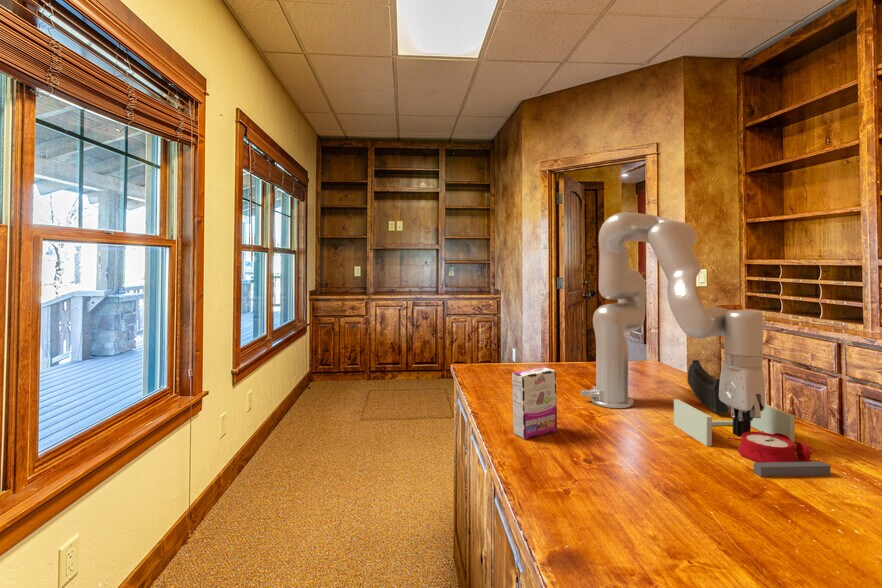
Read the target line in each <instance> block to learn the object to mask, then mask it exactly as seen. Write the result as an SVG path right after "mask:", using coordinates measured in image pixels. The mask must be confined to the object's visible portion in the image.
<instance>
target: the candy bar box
mask: <svg viewBox="0 0 882 588" xmlns="http://www.w3.org/2000/svg"><path fill="white" fill-rule="evenodd" d="M511 385H512V388H511V389H512V390H511V391H512V419H513V421H512V425H513V428H512V429H513V435H515V436H516V437H519V438H521V439H523V440H527V439H529V440H530V439H533V438H537V437H540V436H544V435H547V434H552V433H556V432H557V431H558V420H557V419H558V417H557V416H558V413H557V412H558V410H557V409H558V408H557V370H555V369H552V368H549V367H538V368H532V369H525V370H520V371H515V372H514V371H513V372H511Z"/></svg>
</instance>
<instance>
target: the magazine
mask: <svg viewBox="0 0 882 588" xmlns="http://www.w3.org/2000/svg"><path fill="white" fill-rule="evenodd" d="M686 381H687V384H688V385H689V387H690V389H691V390H692V392H693V394H694V396H696V398H697V399H698V400H699V402H701V404H702V405H704V406H705V407H706V408H708V409H710V410H711V411H713V412H714V413H716V414H719V415H720V414H722V415H726V414H729V413H730V409H729V407H728V406H727V405H726V404H725V403H723V402H722V401H721V400H720V399H719V383H720V378H715V377H714V376H712V375H711V374H709V373H708V372H707V371H706V370H705V369H704V368H703V367H702V364H701V363H700V360H699V359H692V362H691V364H690V365H689V368H688V371H687V380H686Z"/></svg>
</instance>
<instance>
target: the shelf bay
mask: <svg viewBox="0 0 882 588" xmlns="http://www.w3.org/2000/svg"><path fill="white" fill-rule="evenodd" d="M760 413H761V418H753V421H751V427H752V428H753V429H756V430H758V431H759V432H762V431H763V432H765V433H769V434H775V433H781V434H784V435H786V436H787V437H789V438H790V440H791V441H792V442H794V443H795V432H796V431H795V427H796V425H795V423H796V421H795V420H796V416H795V415H793V414H791V413H789V412H787V411H784V410H781V409H779V408H776V407H773V406H771V405H769V404H766V403H765V408H764V410H763V411H760ZM712 417H713V416H711V415H709V414H707V413H705V412H703V411H702V410H699V409H698V408H695V407H694V406H692V405H690V404H688V403H687V402H684V401H682V400H680V399H678V398H675V399H673V426H675V427H677V428H678V429H680V430H681V431H682V432H684V433H685V434H687V435H688V436H690V437H691V438H693V439H695V440H696V441H698V442H699V443H701V444H703V445H704V446H705V447H712V446H713V445H712V444H713V443H712V441H713V439H712V438H713V437H712V436H713V434H712V433H713V429H712V428H713V427H725V426H724V425H733V419H731V420H729V419H728V420H727V419H726V420H723V419H722V420H721V419H720V420H713V418H712ZM793 445H794V446H795V444H793Z"/></svg>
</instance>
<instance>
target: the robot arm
mask: <svg viewBox="0 0 882 588" xmlns="http://www.w3.org/2000/svg"><path fill="white" fill-rule="evenodd" d="M628 241H629V242H640V243H641V242H642V243H647V244H650V247H651V249H652V252H653V253H654V255H655V257H656V260H657V261H658V263H659V265H660V267H661V269H662V271H663V273H664V275H665V277H666V279H667V289H666V290H667V301H668V305H669V309H670V311H671V313H672V315H673V316H674V319H675V321H676V323H677V324H678V326H679V328H680V329H681V330H682V331H683V333H685V334H686V336H688V337H690V338H693V339H697V340H698V339H706V338H707V339H708V338H711V337H712V338H713V337H720V336H722V337H723V336H724V342H723V343H724V344H723V345H724V349H723V351H724V352H723V353H724V354H723V355H724V356H723V357H724V358H723V359H724V360H723V364H722V366H721V369H720V370H721V371H720V374H719V375H720V376H719V379H720V383H719V399H720V400H721V401H722V402H723V403H725V404H726V405H727V406H728V409H729V411H730V415H731V416H730V417H731V418H732V420H733V426H732V434H733V435H734V436H736V437H739V438H741V436H742V434H743V433H745V432H752V431H751V427H752V426H751V421H753V418H761V413H760V411H763V410H764V408H765V404H766V386H765V378H764V377H765V376H764V371H763V360H764V359H763V358H764V357H763V355H764V354H763V351H764V349H763V348H764V347H763V346H764V316H763V314H762V312H760V311H758V310H751V309H729V308H725V307H719V306H711V307H704V306H703V304H702V302H701V300H700V299H699V297H698V296H699V295H698V294H697V291H696V281H697V280H696V279H697V277H698V276H699V274H700V272H701V271H702V266H701V264H700V262H699V260H698V258H697V255H695V252H694V251H693V249H692V248H693V247H694V246H695V243H696V242H697V233H696V230H695V229H694V228H693V226H692V225H691V224H689V223H687V222H683V221H677V220H673V219H670V218H665V217H662V216H657V215H653V214H647V213H638V212H629V211H625V212H624V211H623V212H618V213H614V214H612V215H611V216H609V217H608V218H607V219H605V221H604V222H603V223H602V225H601V227H600V229H599V232H598V248H599V249H598V250H599V259H598V260H599V263H598V293H599V294H600V296H602V297H603V298H604V299H607V300H617V302H616V303H607V304H602V305H600V306H599V307H598V308H596V310H595V311H594V313H593V316H592V326H593V330H594V334H595V355H596V356H595V363H596V364H595V367H596V368H595V369H596V370H595V375H596V376H595V384H596V385H592V388H591V389H581V390H580V395H581V397H587V398H590V401H591V402H592V403H593V404H594V405H596V406H599V407H603V408H610V409H626V408H632V406H634V404H635V403H634V399H632V398H631V397H629V345H628V341H627V338H626V336H625V333H631V332H635V331H637V330H640V328H641V327H642V326H643V324H644V323H645V319H646V303H647V284H646V281H645V278H644V276H643V275H642V274H641V273H640V272H639V271H637V270H635V269H630V268H629V259H630V258H629V251H628V248H627V246H626V242H628Z"/></svg>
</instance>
